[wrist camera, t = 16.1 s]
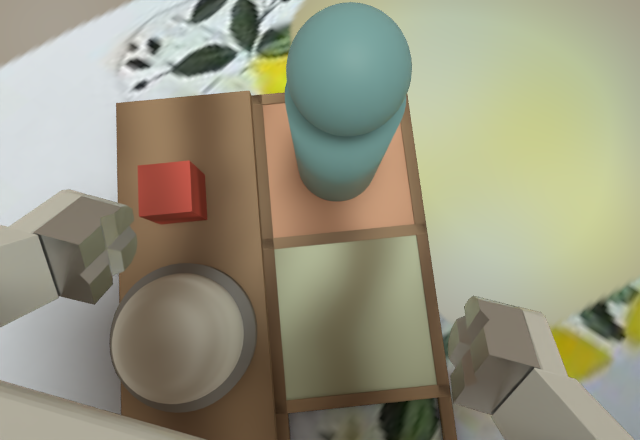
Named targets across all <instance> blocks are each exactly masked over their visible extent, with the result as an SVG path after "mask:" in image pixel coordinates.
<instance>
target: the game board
mask: <svg viewBox="0 0 640 440" xmlns="http://www.w3.org/2000/svg"><path fill="white" fill-rule="evenodd" d="M116 121H117V182H118V203H120V204H124V205H127V206H129V207H130V208H132V210H133V215H134V221H133V222H132V224H131V225H130V227H131V228H132V230H133V231H134V232H135V233H136V235H137V242H138V243H137V251H136V254H135V256H134V258H133V260H132V262H131V264H130V265H129V266H128V267H127V269H126V270H125V271H123V272H121V273H119V303H120V304H119V306H118V308H117V310H116V312H115V315H114V318H113V321H112V325H111V331H110V354H111V359H112V363H113V366H114V369H115V371H116V373H117V375H118V377H119V379H120V381H121V415H123V416H126V417H130V418H133V419H137V420H140V421H143V422H147V423H150V424H154V425H157V426H161V427H164V428H168V429H171V430H175V431H178V432H182V433H185V434H189V435H192V436H195V437H199V438H202V439H206V440H290V430H289V418H288V413H295V412H305V411H314V410H324V409H333V408H343V407H352V406H362V405H371V404H381V403H390V402H400V401H409V400H419V399H429V398H437V399H438V406H439V413H440V420H441V428H442V435H443V440H457V435H456V428H455V421H454V414H453V407H452V400H451V393H450V386H449V379H448V372H447V366H446V359H445V352H444V345H443V338H442V331H441V324H440V317H439V310H438V303H437V297H436V290H435V283H434V276H433V269H432V262H431V256H430V248H429V241H428V234H427V228H426V221H425V214H424V207H423V200H422V193H421V186H420V179H419V173H418V166H417V158H416V151H415V144H414V138H413V131H412V124H411V117H410V110H409V103H408V96H407V95H406V107H405V111H404V114H403V117H402V120H401V122H400V124H399V126H398V128H397V130H396V132H395V134H394V136H393V138H392V140H391V142H390V144H389V146H388V149H387V151H386V153H385V155H384V157H383V159H382V161H381V163H380V165H379V167H378V169H377V171H376V173H375V175H374V177H373V179H372V181H371V183H370V185H369V186H368V187H367V188H366V189H365V191H363V192H362V193H361V194H360V195H358V196H356V197H355V198H352V199H350V200H346V201H337V202H335V201H328V200H324V199H322V198H320V197H318V196H316V195H314V194H313V193H312V192H311V191H309V190H308V189H307V187H306V186H305V185H304V183H303V182H302V180H301V177H300V174H299V171H298V166H297V161H296V156H295V151H294V146H293V141H292V136H291V131H290V126H289V121H288V116H287V111H286V105H285V93H275V94H264V95H254V96H251V94H250V91H240V92H230V93H219V94H208V95H198V96H187V97H176V98H166V99H155V100H145V101H134V102H123V103H116Z"/></svg>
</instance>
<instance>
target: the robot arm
mask: <svg viewBox="0 0 640 440" xmlns="http://www.w3.org/2000/svg"><path fill="white" fill-rule="evenodd" d="M133 221H134V215H133V210H132V208H130V207H129V206H127V205H124V204H120V203H117V202H113V201H110V200H106V199H103V198H99V197H96V196H92V195H87V194H84V193H80V192H77V191H73V190H70V189H69V190H62V191H60V192H59V193H57V194H56V195H54V196H53V197H51V198H50V199H48V200H47V201H46V202H44V203H43V204H41V205H40V206H38V207H37V208H35V209H34V210H32V211H31V212H30V213H28V214H27V215H25V216H24V217H22V218H21V219H19V220H18V221H16V222H15V223H14V224H12V225H11V226H9V227H6V226H2V225H1V226H0V327H2V326H4V325H6V324H8V323H10V322H12V321H14V320H16V319H18V318H20V317H22V316H24V315H26V314H28V313H30V312H32V311H34V310H36V309H38V308H40V307H42V306H44V305H46V304H48V303H50V302H52V301H54V300H56V299H58V298H59V296H61V297H65V298H69V299H73V300H77V301H82V302H86V303H90V304H94V305H95V304H96V302H97V301H98V300H99V299H100V298H101V297H102V296H103V295H104V293H105V292H106V291H107V290H108V289H109V288H110V287H111V286H112V285H113V278H112V276H114V275H116V274H118V273H121V272H123V271H125V270H126V269H127V267H128V266H129V265H130V264H131V262H132V260H133V258H134V256H135V254H136V251H137V243H138V242H137V235H136V233H135V232H134V231H133V230H132V228H131V227H130V225H131V224H132V222H133ZM464 309H465V316H463V317H461V318H459V319H457V320H456V321H455V323H454V325H453V327H452V329H451V332H450V336H449V341H448V355H449V360H450V361H451V362H452V364H453V365H454V366H455V370H454V371H453V373H452V374H451V376H450V377H451V386H452V396H453V403H454V404H457V405H460V406H464V407H467V408H470V409H473V410H477V411H480V412H483V413H487V414H490V415H492V416H491V417H492V419H493V421H494V422H495V424H496V426H497V427H498V429H499V431H500V432H501V434H502V436H503V437H504V439H505V440H634V439H633V438H632V437H631V436H630V435H629V434H628V432H627V431H626V430H625V429H624V428H623V427H622V426H621V425H620V424H619V423H618V422H617V421H616V420H615V419H614V418H613V417H612V416H611V415H610V414H609V413H608V412H607V411H606V410H605V409H604V408H603V407H602V406H601V405H600V404H599V403H598V402H597V401H596V400H595V398H594V397H593V396H592V395H591V394H590V393H589V392H588V391H587V390H586V389H585V388H584V387H583V386H582V385H581V384H580V383H579V382H578V381H577V380H576V379H574V378H570V377H568V375H567V372H566V370H565V367H564V364H563V362H562V359H561V356H560V354H559V351H558V349H557V346H556V343H555V341H554V338H553V335H552V333H551V330H550V327H549V325H548V322H547V320H546V317H545V316H544V315H543V314H542V313H541V312H538V311H534V310H529V309H526V308H521V307H515V306H512V305H508V304H503V303H500V302H496V301H492V300H488V299H484V298H480V297H476V296H472V297H471V298H470V299H469V300H468V301H467V303H466V305H465V306H464ZM0 440H206V439H202V438H199V437H195V436H192V435H189V434H185V433H182V432H178V431H175V430H171V429H168V428H164V427H161V426H157V425H154V424H150V423H147V422H143V421H140V420H137V419H133V418H130V417H126V416H123V415H119V414H116V413H112V412H109V411H105V410H102V409H98V408H95V407H91V406H88V405H85V404H81V403H78V402H74V401H71V400H67V399H64V398H60V397H57V396H53V395H50V394H46V393H43V392H39V391H36V390H33V389H29V388H26V387H22V386H19V385H15V384H12V383H8V382H5V381H1V380H0Z"/></svg>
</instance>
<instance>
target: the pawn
mask: <svg viewBox="0 0 640 440" xmlns="http://www.w3.org/2000/svg"><path fill="white" fill-rule="evenodd" d="M286 72H287V83H286V87H285V105H286V111H287V116H288V121H289V126H290V131H291V136H292V141H293V146H294V151H295V156H296V161H297V166H298V171H299V174H300V177H301V180H302V182H303V183H304V185H305V186H306V187H307V189H308V190H309V191H311V192H312V193H313V194H314V195H316V196H318V197H320V198H322V199H324V200H328V201H335V202H337V201H346V200H350V199H352V198H355V197H356V196H358V195H360V194H361V193H362V192H363V191H365V189H366V188H367V187H368V186H369V185H370V183H371V181H372V179H373V177H374V175H375V173H376V171H377V169H378V167H379V165H380V163H381V161H382V159H383V157H384V155H385V153H386V151H387V149H388V146H389V144H390V142H391V140H392V138H393V136H394V134H395V132H396V130H397V128H398V126H399V124H400V122H401V120H402V117H403V114H404V111H405V107H406V95H407V92H408V89H409V86H410V81H411V72H412V62H411V55H410V50H409V46H408V44H407V41H406V39H405V37H404V35H403V33H402V31H401V30H400V28H399V27H398V25H397V24H396V23H395V22H394V21H393V20H392V19H391V18H390V17H388V16H387V15H386V14H385V13H383V12H382V11H380V10H379V9H376V8H374V7H372V6H369V5H366V4H361V3H353V2H349V3H340V4H336V5H332V6H329V7H327V8H325V9H323V10H321V11H319V12H318V13H316V14H315V15H314V16H312V17H311V18H310V19H309V20H308V21H307V22H306V23H305V24H304V25H303V26H302V27H301V29H300V30H299V31H298V33H297V35H296V36H295V38H294V40H293V42H292V45H291V47H290V50H289V54H288V59H287V66H286Z"/></svg>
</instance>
